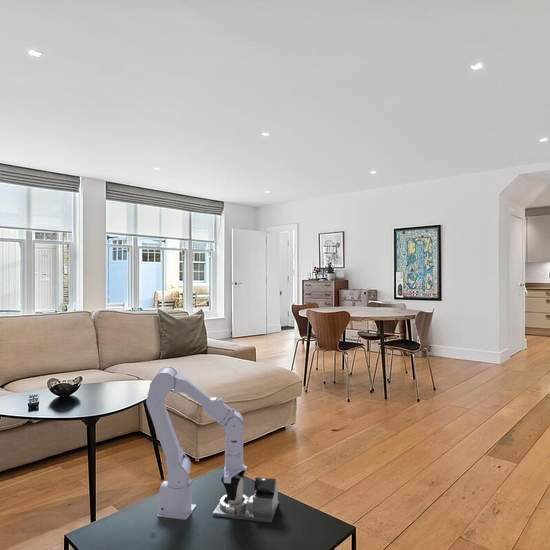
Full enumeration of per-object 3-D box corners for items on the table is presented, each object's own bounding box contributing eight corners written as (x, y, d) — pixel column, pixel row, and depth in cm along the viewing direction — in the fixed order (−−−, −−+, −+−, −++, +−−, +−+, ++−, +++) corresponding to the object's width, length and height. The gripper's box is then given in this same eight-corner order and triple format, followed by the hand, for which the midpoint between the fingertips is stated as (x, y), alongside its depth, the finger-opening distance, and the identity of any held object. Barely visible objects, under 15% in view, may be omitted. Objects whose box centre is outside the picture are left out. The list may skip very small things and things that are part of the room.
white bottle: (238, 506, 130) (239, 480, 130) (225, 503, 131) (226, 477, 131) (245, 499, 134) (245, 474, 134) (232, 497, 135) (232, 471, 135)
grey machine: (212, 515, 128) (212, 482, 128) (224, 497, 139) (224, 466, 139) (271, 522, 125) (271, 488, 125) (278, 503, 135) (278, 471, 135)
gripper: (239, 462, 125) (240, 509, 125) (252, 444, 139) (252, 485, 139) (217, 460, 126) (217, 506, 126) (231, 442, 140) (231, 483, 140)
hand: (234, 495), depth 133 cm, fingers closed on white bottle, 4 cm apart
